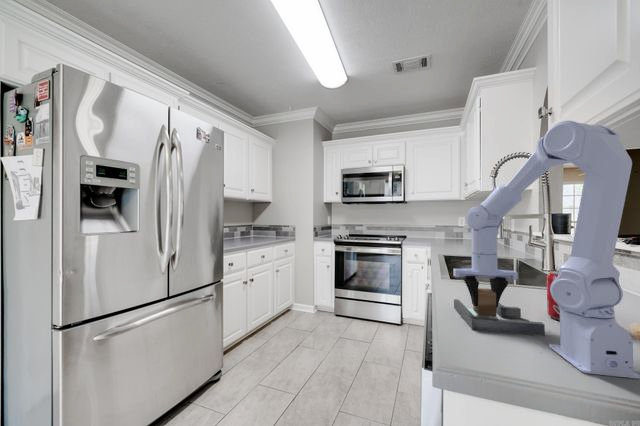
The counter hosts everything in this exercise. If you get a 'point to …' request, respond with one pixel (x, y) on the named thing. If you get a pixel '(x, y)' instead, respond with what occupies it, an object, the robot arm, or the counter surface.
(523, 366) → the counter surface
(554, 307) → the beverage can
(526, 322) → the grey flat frame
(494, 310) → the walnut block
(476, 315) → the pad
